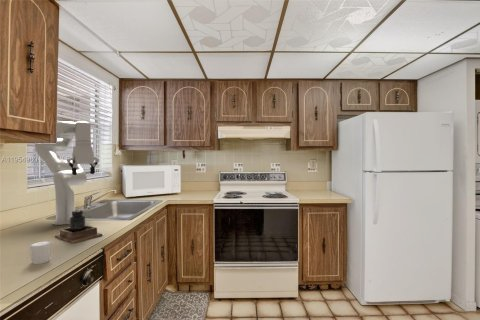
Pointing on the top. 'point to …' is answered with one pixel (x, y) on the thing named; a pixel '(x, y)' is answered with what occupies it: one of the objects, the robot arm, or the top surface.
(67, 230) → the bottle cradle
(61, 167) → the robot arm
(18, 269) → the top surface
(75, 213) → the supplement bottle
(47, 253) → the shot glass
